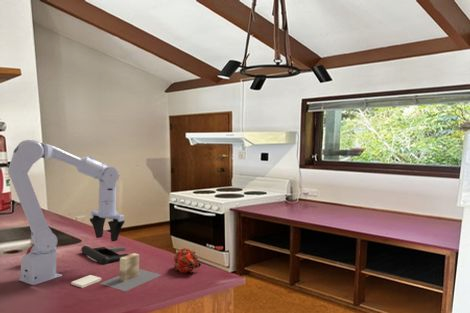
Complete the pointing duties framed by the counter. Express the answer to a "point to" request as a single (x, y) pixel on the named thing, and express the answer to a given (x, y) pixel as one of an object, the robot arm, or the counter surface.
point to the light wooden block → (129, 267)
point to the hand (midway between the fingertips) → (106, 239)
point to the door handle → (103, 254)
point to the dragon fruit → (186, 261)
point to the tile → (86, 281)
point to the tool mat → (131, 281)
